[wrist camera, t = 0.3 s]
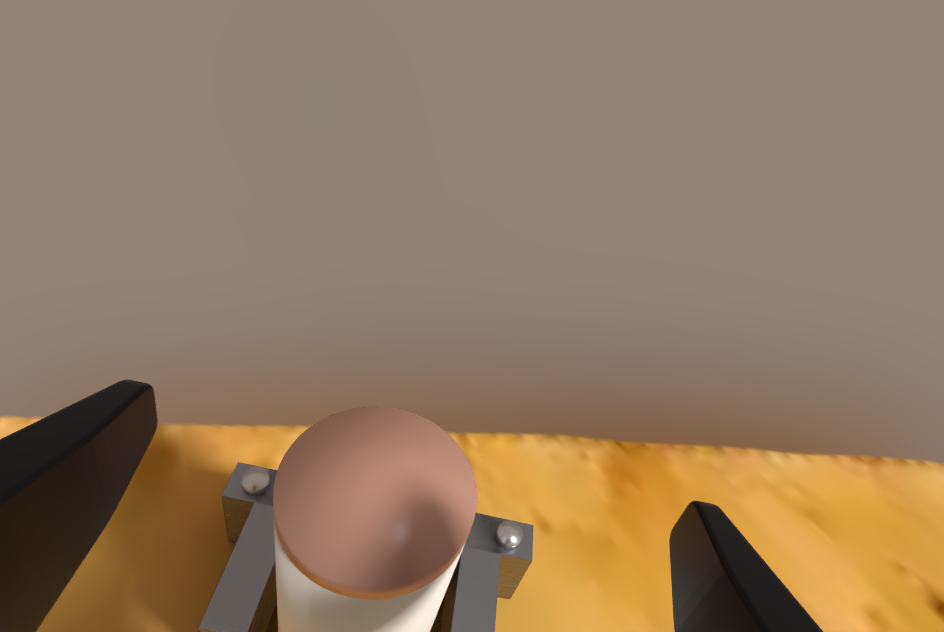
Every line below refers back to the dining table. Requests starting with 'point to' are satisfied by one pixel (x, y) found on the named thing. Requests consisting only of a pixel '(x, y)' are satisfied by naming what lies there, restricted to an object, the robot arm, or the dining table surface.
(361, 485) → the mushroom
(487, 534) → the bracket
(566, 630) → the dining table surface
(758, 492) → the dining table surface
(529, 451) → the dining table surface
